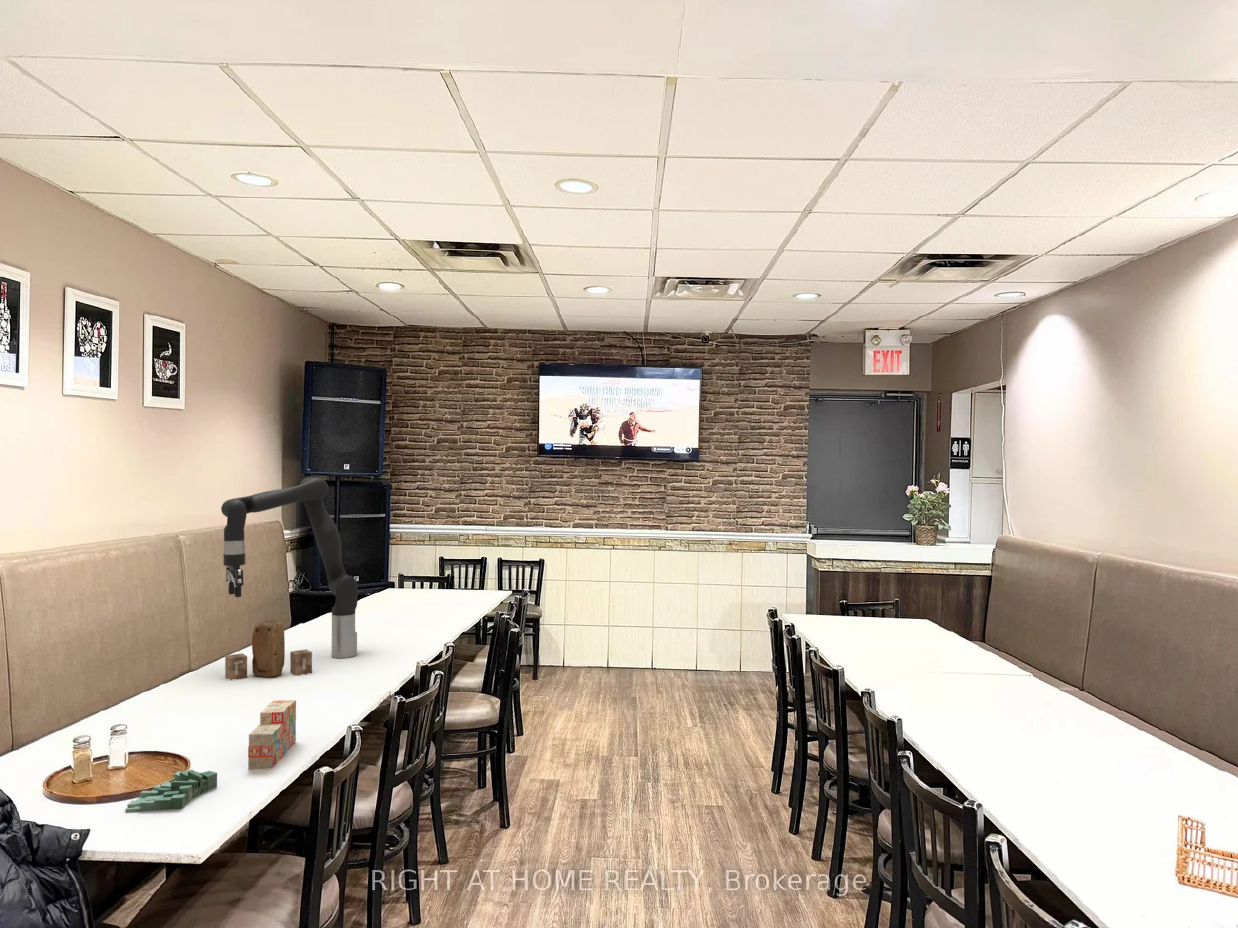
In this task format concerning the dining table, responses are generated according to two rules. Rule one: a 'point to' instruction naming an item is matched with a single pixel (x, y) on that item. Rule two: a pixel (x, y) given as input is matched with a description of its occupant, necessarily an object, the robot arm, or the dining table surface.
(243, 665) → the brown letter block
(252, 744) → the stack of blocks
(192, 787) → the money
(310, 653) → the walnut block one
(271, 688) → the dining table surface
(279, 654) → the block
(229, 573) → the robot arm
